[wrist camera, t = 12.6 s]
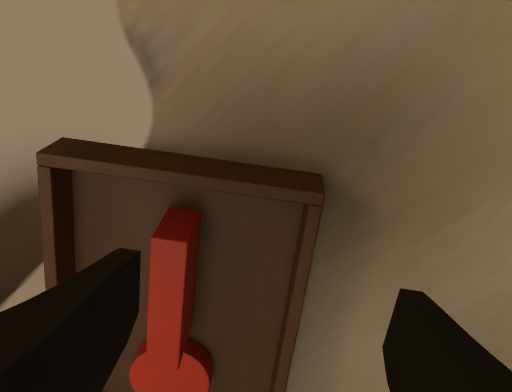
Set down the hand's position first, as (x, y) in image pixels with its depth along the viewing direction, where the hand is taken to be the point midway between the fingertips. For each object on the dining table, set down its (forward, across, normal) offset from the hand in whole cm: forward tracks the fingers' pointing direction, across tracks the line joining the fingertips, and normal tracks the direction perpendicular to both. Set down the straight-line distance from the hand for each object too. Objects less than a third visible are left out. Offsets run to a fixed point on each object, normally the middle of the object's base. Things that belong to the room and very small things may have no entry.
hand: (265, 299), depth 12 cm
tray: (+9, +4, +8) cm, 13 cm away
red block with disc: (+9, +4, +8) cm, 13 cm away
